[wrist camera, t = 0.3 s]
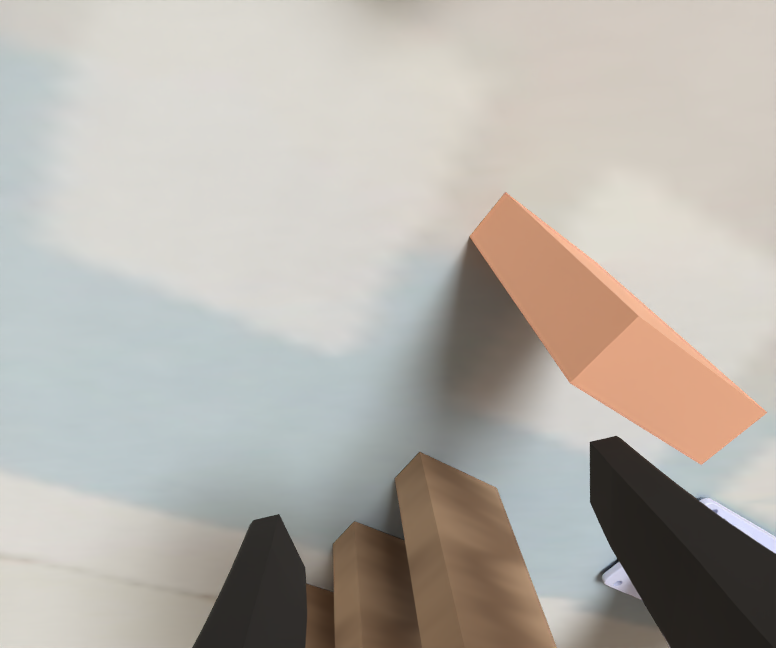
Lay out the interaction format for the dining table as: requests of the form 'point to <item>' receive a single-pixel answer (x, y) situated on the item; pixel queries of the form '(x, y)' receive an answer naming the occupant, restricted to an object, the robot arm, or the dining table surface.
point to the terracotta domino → (611, 337)
